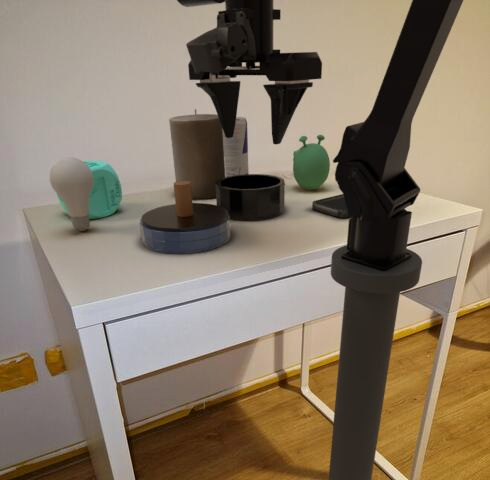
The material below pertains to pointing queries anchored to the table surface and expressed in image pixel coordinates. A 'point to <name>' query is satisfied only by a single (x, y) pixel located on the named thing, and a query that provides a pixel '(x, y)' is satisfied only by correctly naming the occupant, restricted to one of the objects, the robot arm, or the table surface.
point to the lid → (184, 213)
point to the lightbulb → (73, 188)
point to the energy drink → (236, 150)
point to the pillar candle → (198, 152)
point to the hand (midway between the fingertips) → (252, 140)
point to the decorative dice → (102, 190)
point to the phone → (332, 206)
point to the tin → (251, 196)
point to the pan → (185, 239)
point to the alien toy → (311, 164)
